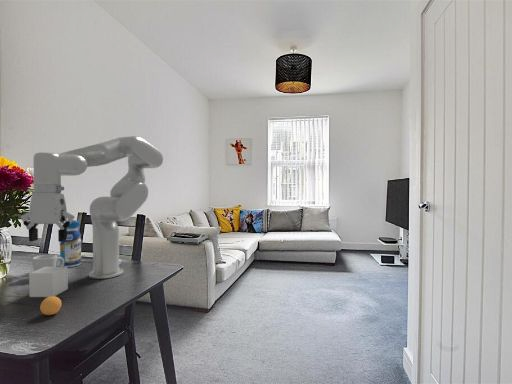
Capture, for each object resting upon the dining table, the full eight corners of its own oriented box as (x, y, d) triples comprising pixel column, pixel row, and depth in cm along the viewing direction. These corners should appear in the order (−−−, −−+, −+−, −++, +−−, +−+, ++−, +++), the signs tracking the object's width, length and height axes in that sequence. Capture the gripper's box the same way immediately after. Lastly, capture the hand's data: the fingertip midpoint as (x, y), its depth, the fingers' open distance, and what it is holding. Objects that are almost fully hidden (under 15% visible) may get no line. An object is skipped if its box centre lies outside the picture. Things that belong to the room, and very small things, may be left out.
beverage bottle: (67, 262, 143) (67, 220, 142) (85, 262, 142) (85, 220, 142) (55, 267, 134) (54, 222, 134) (74, 267, 134) (73, 222, 133)
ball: (48, 310, 89) (48, 293, 89) (65, 310, 89) (65, 293, 89) (35, 318, 84) (35, 300, 84) (54, 318, 84) (53, 300, 84)
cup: (60, 271, 129) (60, 252, 129) (67, 274, 124) (67, 255, 124) (29, 277, 121) (29, 257, 120) (36, 281, 116) (35, 260, 115)
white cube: (45, 288, 107) (45, 266, 107) (67, 288, 107) (67, 266, 107) (29, 297, 99) (29, 273, 99) (53, 297, 99) (52, 273, 99)
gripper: (79, 189, 106) (80, 239, 106) (30, 189, 106) (30, 238, 106) (66, 190, 99) (66, 243, 99) (12, 189, 99) (13, 242, 99)
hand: (48, 240), depth 103 cm, fingers open, 9 cm apart
